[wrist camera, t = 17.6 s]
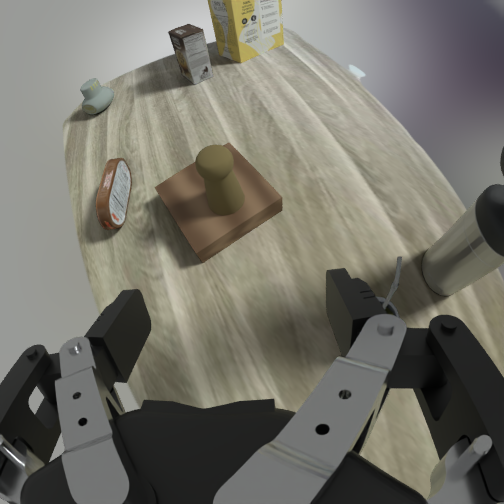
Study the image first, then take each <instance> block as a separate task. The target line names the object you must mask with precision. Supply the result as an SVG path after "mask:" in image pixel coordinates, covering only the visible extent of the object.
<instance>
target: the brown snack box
mask: <svg viewBox="0 0 504 504" xmlns="http://www.w3.org/2000/svg"><path fill="white" fill-rule="evenodd" d="M168 33H169V35H170V38H171V42H172V45H173V48H174V51H175V54H176V57H177V60H178V63H179V66H180V69H181V72H182V75H183V76H184V77H186V78H187V79H188V80H190V81H191V82H192V83H193V84H197V83H199V82H202V81H204V80H206V79H208V78H211V77H213V72H212V67H211V63H210V58H209V54H208V49H207V45H206V41H205V36H204V32H203V29H200V28H198V27H195V26H193V25H190V24H187V25H184V26H181V27H178V28H176V29H173V30H171V31H169V32H168Z"/></svg>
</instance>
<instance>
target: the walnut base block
mask: <svg viewBox="0 0 504 504" xmlns="http://www.w3.org/2000/svg"><path fill="white" fill-rule="evenodd" d="M223 146H224V147H226V148H227V149H228V150H229V151H230V152H231V153H232V156H233V159H234V164H233V171H234V173H235V176H236V178H237V180H238V182H239V184H240V186H241V188H242V190H243V193H244V195H245V201H244V203H243V206H242V207H241V208H240V209H239V210H238V211H237V212H235V213H233V214H230V215H218V214H216V213H214V212H212V210H211V209H210V208H209V205H208V200H207V195H206V189H205V184H204V178H202V177H201V176H200V175H199V173H198V172H197V170H196V166H195V162H194V163H193V164H191V165H189V166H188V167H186V168H184V169H183V170H181V171H180V172H178V173H176V174H175V175H173V176H172V177H170V178H168V179H167V180H165V181H164V182H162V183H161V184H159V185H158V186H156V187H155V189H156V190H157V192H158V194H159V195H160V197H161V199H162V200H163V202H164V204H165V205H166V207H167V208H168V210H169V212H170V213H171V215H172V216H173V218H174V220H175V221H176V223H177V224H178V226H179V228H180V229H181V231H182V232H183V234H184V236H185V237H186V239H187V240H188V242H189V243H190V245H191V246H192V248H193V250H194V251H195V253H196V254H197V256H198V257H199V258H200V260H201V261H202V263H204V262H205V261H207V260H208V259H210V258H211V257H213V256H214V255H216V254H217V253H219V252H220V251H222V250H223V249H225V248H226V247H228V246H229V245H231V244H232V243H234V242H235V241H237V240H238V239H240V238H241V237H243V236H244V235H246V234H247V233H249V232H250V231H252V230H253V229H255V228H256V227H258V226H259V225H261V224H262V223H264V222H265V221H267V220H268V219H270V218H271V217H273V216H274V215H276V214H277V213H279V212H280V211H282V197H281V195H280V194H279V193H278V192H277V191H276V190H275V189H274V188H273V187H272V186H271V185H270V184H269V183H268V182H267V181H266V180H265V179H264V177H263V176H262V175H261V174H260V173H259V172H258V171H257V170H256V169H255V168H254V167H253V166H252V165H251V164H250V163H249V162H248V161H247V160H246V159H245V158H244V157H243V156H242V155H241V154H240V153H239V152H238V151H237V150H236V149H235V148H234V147H233V146H232V145H231V144H230V143H227V144H225V145H223Z"/></svg>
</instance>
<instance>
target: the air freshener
mask: <svg viewBox="0 0 504 504" xmlns="http://www.w3.org/2000/svg"><path fill="white" fill-rule="evenodd" d="M80 90H81V92H82V94H83V96H84V97H85V99H84V101H83V103H82V109H83V111H85V112H86V113H88V114H96V113H99V112H101V111H103V110H104V109H106V108H107V107H108V106H109V105H110V103H111V102H112V100H113V98H114V91H113V90H112V89H111V88H109V87H101V85H100V83H99V81H98V80H97V79H96V78H94V79H91V80H89V81H87V82H86V83H85V84H83V85H82V87H81V89H80Z"/></svg>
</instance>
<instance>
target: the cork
mask: <svg viewBox="0 0 504 504" xmlns="http://www.w3.org/2000/svg"><path fill="white" fill-rule="evenodd" d="M233 164H234V159H233V156H232V153H231V152H230V151H229V150H228V149H227V148H226V147H224V146H221V145H210V146H207V147H205V148H204V149H202V150H201V151H200V152H199V154H198V155H197V157H196V161H195V166H196V170H197V172H198V173H199V175H200V176H201V177H202V178H204V184H205V189H206V195H207V200H208V205H209V208H210V209H211V210H212V212H214V213H216V214H218V215H230V214H233V213H235V212H237V211H238V210H239V209H240V208H241V207H242V206H243V203H244V201H245V195H244V193H243V190H242V188H241V186H240V184H239V182H238V180H237V178H236V176H235V173H234V171H233Z"/></svg>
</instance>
